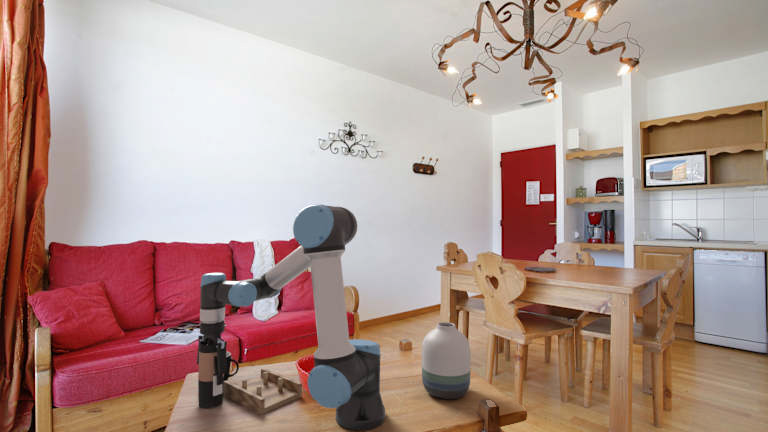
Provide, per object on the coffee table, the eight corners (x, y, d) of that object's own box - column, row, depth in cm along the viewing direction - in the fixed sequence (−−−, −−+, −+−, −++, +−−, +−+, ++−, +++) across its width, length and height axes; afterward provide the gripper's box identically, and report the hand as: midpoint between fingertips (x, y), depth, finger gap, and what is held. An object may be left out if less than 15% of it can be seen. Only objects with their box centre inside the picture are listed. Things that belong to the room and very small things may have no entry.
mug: (200, 388, 135) (200, 359, 135) (209, 378, 144) (209, 351, 144) (235, 387, 136) (235, 358, 136) (241, 377, 145) (242, 350, 145)
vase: (412, 387, 137) (413, 321, 138) (450, 379, 145) (450, 316, 145) (440, 408, 122) (440, 333, 123) (480, 397, 130) (480, 327, 130)
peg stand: (301, 396, 129) (301, 380, 129) (261, 414, 116) (261, 396, 116) (263, 379, 142) (263, 365, 143) (223, 394, 130) (223, 378, 130)
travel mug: (198, 400, 125) (200, 339, 126) (223, 396, 128) (225, 337, 129) (196, 410, 118) (197, 346, 119) (222, 407, 121) (224, 344, 122)
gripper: (240, 323, 121) (238, 395, 120) (208, 313, 133) (206, 379, 133) (217, 328, 115) (216, 404, 114) (186, 317, 127) (184, 386, 127)
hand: (211, 390), depth 123 cm, fingers closed on travel mug, 8 cm apart
